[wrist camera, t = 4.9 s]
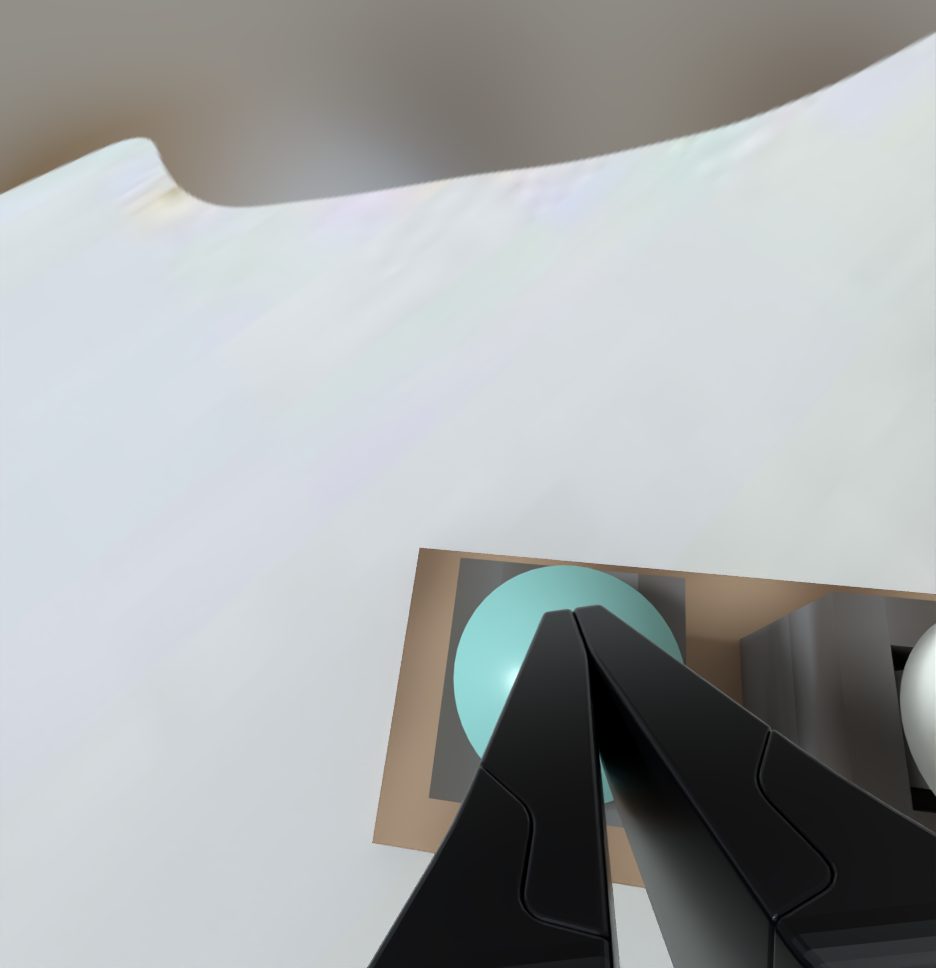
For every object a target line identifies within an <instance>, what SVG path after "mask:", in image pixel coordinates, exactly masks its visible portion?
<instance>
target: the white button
mask: <svg viewBox="0 0 936 968" xmlns="http://www.w3.org/2000/svg"><path fill="white" fill-rule="evenodd" d="M894 675H895V682H896V690H897V697H898V704H899V711H900V719H901V726H902V733H903V741H904V748H905V755H906V763H907V770H908V777H909V784H910V787H915V788H923V789H930V790H932V792H933V793H934V794H935V796H936V623H935V624H934V625H933V626H932V627H930V628H929V629H928V630H927V631H926V632H925V633H924V634H923V635H922V637H921V638H920V639H919V640H918V641H917V643H916V645H915V646H914V648H913V649H912V651H911V653H910V655H909V657H908V660H907V662H906V665H905V667H904V670H900V671H895V672H894Z"/></svg>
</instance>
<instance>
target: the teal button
mask: <svg viewBox="0 0 936 968" xmlns="http://www.w3.org/2000/svg"><path fill="white" fill-rule="evenodd" d="M597 604H599V605H602V606H604V607H605V608H607V609H608V610H609V611H611V612H612V613H613V614H615V615H616V616H618V617H619V618H620V619H622V620H623V621H625V622H626V623H627V624H629V625H630V626H632V627H633V628H634V629H636V630H637V631H639V632H640V633H641V634H643V635H644V636H645V637H647V638H648V639H650V640H651V641H652V642H654V643H655V644H657V645H658V646H659V647H661V648H662V649H664V650H665V651H666V652H668V653H669V654H670V655H672V656H673V657H675V658H676V659H677V660H679V661H680V662H682V663H683V659H682V656H681V653H680V650H679V647H678V644H677V642H676V640H675V638H674V636H673V634H672V632H671V630H670V628H669V627H668V625H667V624H666V622H665V620H664V619H663V617H662V616H661V615H660V614H659V612H658V611H657V610H656V609H655V608H654V606H653V605H652V604H651V603H650V602H649V601H648V600H647V599H646V598H645V597H644V596H643V595H641V594H640V593H639V592H638V591H636V590H635V589H634V588H632V587H631V586H630V585H628V584H626V583H625V582H623V581H621V580H619V579H618V578H616V577H613V576H611V575H609V574H606V573H604V572H601V571H598V570H594V569H591V568H586V567H580V566H569V565H557V566H547V567H542V568H538V569H533V570H530V571H528V572H525V573H522V574H519V575H517V576H516V577H514V578H512V579H510V580H508V581H506V582H505V583H503V584H502V585H501V586H499V587H498V588H496V589H495V590H494V591H493V592H492V593H491V594H490V595H489V596H487V597H486V598H485V599H484V601H483V602H482V603H481V604H480V605H479V606H478V608H477V609H476V610H475V612H474V613H473V615H472V616H471V618H470V620H469V621H468V623H467V625H466V627H465V629H464V632H463V634H462V636H461V639H460V642H459V645H458V648H457V653H456V658H455V664H454V695H455V700H456V706H457V711H458V714H459V717H460V720H461V723H462V726H463V728H464V730H465V733H466V735H467V737H468V739H469V741H470V743H471V744H472V746H473V747H474V749H475V751H476V752H477V754H478V755H479V756H480V758H482V756H483V754H484V751H485V749H486V747H487V744H488V742H489V740H490V737H491V735H492V733H493V730H494V728H495V726H496V723H497V721H498V718H499V716H500V714H501V711H502V709H503V707H504V704H505V702H506V700H507V697H508V695H509V693H510V690H511V688H512V686H513V683H514V681H515V679H516V676H517V674H518V672H519V669H520V667H521V665H522V662H523V660H524V658H525V655H526V653H527V651H528V648H529V646H530V644H531V641H532V639H533V637H534V634H535V632H536V630H537V627H538V625H539V623H540V620H541V618H542V616H543V614H544V613H545V612H548V611H555V610H562V609H570V610H571V611H572V612H573V611H574V609H575V608H577V607H583V606H590V605H597ZM600 763H601V760H600ZM601 773H602V782H603V793H604V803H607V802H610V801H613V800H614V799H613V796H612V793H611V790H610V788H609V785H608V782H607V779H606V776H605V773H604V770H603V767H602V763H601Z"/></svg>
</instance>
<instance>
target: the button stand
mask: <svg viewBox="0 0 936 968" xmlns="http://www.w3.org/2000/svg"><path fill="white" fill-rule="evenodd" d="M557 565H569V566H580V567H586V568H591V569H594V570H598V571H601V572H604V573H606V574H609V575H611V576H613V577H616V578H618V579H619V580H621V581H623V582H625V583H626V584H628V585H630V586H631V587H632V588H634V589H635V590H636V591H638V592H639V593H640V594H641V595H643V596H644V597H645V598H646V599H647V600H648V601H649V602H650V603H651V604H652V605H653V606H654V608H655V609H656V610H657V611H658V612H659V614H660V615H661V616H662V617H663V619H664V620H665V622H666V624H667V625H668V627H669V628H670V630H671V632H672V634H673V636H674V638H675V640H676V642H677V644H678V647H679V650H680V653H681V656H682V659H683V664H684V665H686V666H687V667H689V668H690V669H691V670H693V671H694V672H695V673H697V674H698V675H700V676H701V677H702V678H704V679H705V680H707V681H708V682H709V683H711V684H712V685H714V686H715V687H716V688H718V689H719V690H720V691H722V692H723V693H725V694H726V695H727V696H729V697H730V698H732V699H733V700H734V701H736V702H737V703H739V704H740V705H741V706H743V707H744V708H745V709H747V710H748V711H750V712H751V713H752V714H754V715H755V716H757V717H758V718H759V719H761V720H762V721H764V722H765V723H766V724H768V725H769V726H770V727H771V730H776V731H778V732H779V733H781V734H782V735H783V736H785V737H786V738H788V739H789V740H790V741H792V742H793V743H795V744H796V745H797V746H799V747H800V748H802V749H803V750H804V751H806V752H807V753H809V754H810V755H812V756H813V757H815V758H816V759H818V760H819V761H821V762H822V763H824V764H825V765H826V766H828V767H829V768H831V769H832V770H834V771H835V772H837V773H838V774H840V775H841V776H843V777H844V778H846V779H847V780H849V781H851V782H852V783H854V784H855V785H857V786H859V787H860V788H862V789H863V790H865V791H867V792H868V793H870V794H872V795H873V796H875V797H876V798H878V799H880V800H881V801H883V802H884V803H886V804H888V805H889V806H891V807H892V808H894V809H896V810H897V811H899V812H901V813H902V814H904V815H906V816H907V817H909V818H911V819H912V820H914V821H916V822H918V823H919V824H921V825H923V826H924V827H926V828H928V829H929V830H931V831H933V832H934V833H936V796H935V794H934V793H933V792H932V790H930V789H923V788H915V787H910V784H909V777H908V770H907V763H906V755H905V748H904V741H903V733H902V726H901V719H900V711H899V704H898V697H897V690H896V682H895V675H894V672H895V671H900V670H904V667H905V665H906V662H907V660H908V657H909V655H910V653H911V651H912V649H913V648H914V646H915V645H916V643H917V641H918V640H919V639H920V638H921V637H922V635H923V634H924V633H925V632H926V631H927V630H928V629H929V628H930V627H932V626H933V625H934V624H935V623H936V594H927V593H916V592H905V591H894V590H883V589H872V588H861V587H850V586H838V585H827V584H816V583H805V582H794V581H783V580H772V579H761V578H749V577H738V576H727V575H716V574H705V573H694V572H683V571H672V570H660V569H649V568H638V567H627V566H616V565H605V564H594V563H583V562H571V561H560V560H549V559H538V558H527V557H516V556H505V555H494V554H482V553H471V552H460V551H449V550H438V549H427V548H420V549H419V555H418V561H417V568H416V574H415V580H414V586H413V593H412V599H411V605H410V611H409V618H408V624H407V630H406V636H405V642H404V649H403V655H402V661H401V667H400V674H399V680H398V686H397V692H396V699H395V705H394V711H393V717H392V723H391V730H390V736H389V742H388V748H387V755H386V761H385V767H384V773H383V780H382V786H381V792H380V798H379V804H378V811H377V817H376V823H375V829H374V836H373V842H372V843H376V844H382V845H388V846H394V847H400V848H406V849H412V850H418V851H424V852H430V853H436V851H437V849H438V848H439V846H440V844H441V842H442V840H443V839H444V837H445V835H446V833H447V832H448V830H449V828H450V826H451V824H452V822H453V820H454V818H455V816H456V814H457V812H458V809H459V807H460V805H461V803H462V801H463V799H464V797H465V795H466V793H467V790H468V788H469V786H470V783H471V781H472V779H473V776H474V774H475V772H476V769H477V768H479V763H480V761H481V758H480V756H479V755H478V754H477V752H476V751H475V749H474V747H473V746H472V744H471V743H470V741H469V739H468V737H467V735H466V733H465V730H464V728H463V726H462V723H461V720H460V717H459V714H458V711H457V706H456V700H455V695H454V664H455V658H456V653H457V648H458V645H459V642H460V639H461V636H462V634H463V632H464V629H465V627H466V625H467V623H468V621H469V620H470V618H471V616H472V615H473V613H474V612H475V610H476V609H477V608H478V606H479V605H480V604H481V603H482V602H483V601H484V599H485V598H486V597H487V596H489V595H490V594H491V593H492V592H493V591H494V590H495V589H496V588H498V587H499V586H501V585H502V584H503V583H505V582H506V581H508V580H510V579H512V578H514V577H516V576H517V575H519V574H522V573H525V572H528V571H530V570H533V569H538V568H542V567H547V566H557ZM605 814H606V824H607V835H608V846H609V856H610V867H611V877H612V883H617V884H623V885H629V886H635V887H641V888H645V885H644V883H643V880H642V877H641V874H640V872H639V869H638V866H637V863H636V860H635V858H634V855H633V852H632V849H631V846H630V844H629V841H628V838H627V835H626V832H625V830H624V827H623V824H622V821H621V818H620V816H619V813H618V810H617V807H616V804H615V802H614V800H613V801H610V802H607V803H605Z"/></svg>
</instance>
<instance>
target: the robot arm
mask: <svg viewBox="0 0 936 968" xmlns="http://www.w3.org/2000/svg"><path fill="white" fill-rule="evenodd" d="M600 760H601V763H602V767H603V770H604V773H605V776H606V779H607V782H608V785H609V788H610V790H611V793H612V796H613V799H614V802H615V804H616V807H617V810H618V813H619V816H620V818H621V821H622V824H623V827H624V830H625V832H626V835H627V838H628V841H629V844H630V846H631V849H632V852H633V855H634V858H635V860H636V863H637V866H638V869H639V872H640V874H641V877H642V880H643V883H644V885H645V888H646V891H647V894H648V897H649V899H650V902H651V905H652V908H653V911H654V913H655V916H656V919H657V922H658V925H659V927H660V930H661V933H662V936H663V939H664V941H665V944H666V947H667V950H668V953H669V955H670V958H671V961H672V964H673V967H674V968H936V833H934V832H933V831H931V830H929V829H928V828H926V827H924V826H923V825H921V824H919V823H918V822H916V821H914V820H912V819H911V818H909V817H907V816H906V815H904V814H902V813H901V812H899V811H897V810H896V809H894V808H892V807H891V806H889V805H888V804H886V803H884V802H883V801H881V800H880V799H878V798H876V797H875V796H873V795H872V794H870V793H868V792H867V791H865V790H863V789H862V788H860V787H859V786H857V785H855V784H854V783H852V782H851V781H849V780H847V779H846V778H844V777H843V776H841V775H840V774H838V773H837V772H835V771H834V770H832V769H831V768H829V767H828V766H826V765H825V764H824V763H822V762H821V761H819V760H818V759H816V758H815V757H813V756H812V755H810V754H809V753H807V752H806V751H804V750H803V749H802V748H800V747H799V746H797V745H796V744H795V743H793V742H792V741H790V740H789V739H788V738H786V737H785V736H783V735H782V734H781V733H779V732H778V731H776V730H771V727H770V726H769V725H768V724H766V723H765V722H764V721H762V720H761V719H759V718H758V717H757V716H755V715H754V714H752V713H751V712H750V711H748V710H747V709H745V708H744V707H743V706H741V705H740V704H739V703H737V702H736V701H734V700H733V699H732V698H730V697H729V696H727V695H726V694H725V693H723V692H722V691H720V690H719V689H718V688H716V687H715V686H714V685H712V684H711V683H709V682H708V681H707V680H705V679H704V678H702V677H701V676H700V675H698V674H697V673H695V672H694V671H693V670H691V669H690V668H689V667H687V666H686V665H684V664H683V663H682V662H680V661H679V660H677V659H676V658H675V657H673V656H672V655H670V654H669V653H668V652H666V651H665V650H664V649H662V648H661V647H659V646H658V645H657V644H655V643H654V642H652V641H651V640H650V639H648V638H647V637H645V636H644V635H643V634H641V633H640V632H639V631H637V630H636V629H634V628H633V627H632V626H630V625H629V624H627V623H626V622H625V621H623V620H622V619H620V618H619V617H618V616H616V615H615V614H613V613H612V612H611V611H609V610H608V609H607V608H605V607H604V606H602V605H599V604H597V605H590V606H583V607H577V608H575V609H574V611H573V612H572V611H571V610H570V609H562V610H555V611H548V612H545V613H544V614H543V616H542V618H541V620H540V623H539V625H538V627H537V630H536V632H535V634H534V637H533V639H532V641H531V644H530V646H529V648H528V651H527V653H526V655H525V658H524V660H523V662H522V665H521V667H520V669H519V672H518V674H517V676H516V679H515V681H514V683H513V686H512V688H511V690H510V693H509V695H508V697H507V700H506V702H505V704H504V707H503V709H502V711H501V714H500V716H499V718H498V721H497V723H496V726H495V728H494V730H493V733H492V735H491V737H490V740H489V742H488V744H487V747H486V749H485V751H484V754H483V756H482V758H481V761H480V763H479V768H477V769H476V772H475V774H474V776H473V779H472V781H471V783H470V786H469V788H468V790H467V793H466V795H465V797H464V799H463V801H462V803H461V805H460V807H459V809H458V812H457V814H456V816H455V818H454V820H453V822H452V824H451V826H450V828H449V830H448V832H447V833H446V835H445V837H444V839H443V840H442V842H441V844H440V846H439V848H438V849H437V851H436V853H435V855H434V857H433V858H432V860H431V862H430V864H429V865H428V867H427V869H426V870H425V872H424V874H423V875H422V877H421V879H420V880H419V882H418V884H417V885H416V887H415V889H414V890H413V892H412V894H411V895H410V897H409V899H408V900H407V902H406V904H405V905H404V907H403V909H402V910H401V912H400V914H399V915H398V917H397V919H396V920H395V922H394V924H393V925H392V927H391V929H390V930H389V932H388V934H387V935H386V937H385V939H384V940H383V942H382V944H381V945H380V947H379V949H378V950H377V952H376V954H375V955H374V957H373V959H372V960H371V962H370V964H369V965H368V967H367V968H620V962H619V951H618V941H617V930H616V919H615V909H614V898H613V888H612V877H611V867H610V856H609V846H608V835H607V824H606V814H605V803H604V793H603V782H602V773H601V763H600Z"/></svg>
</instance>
